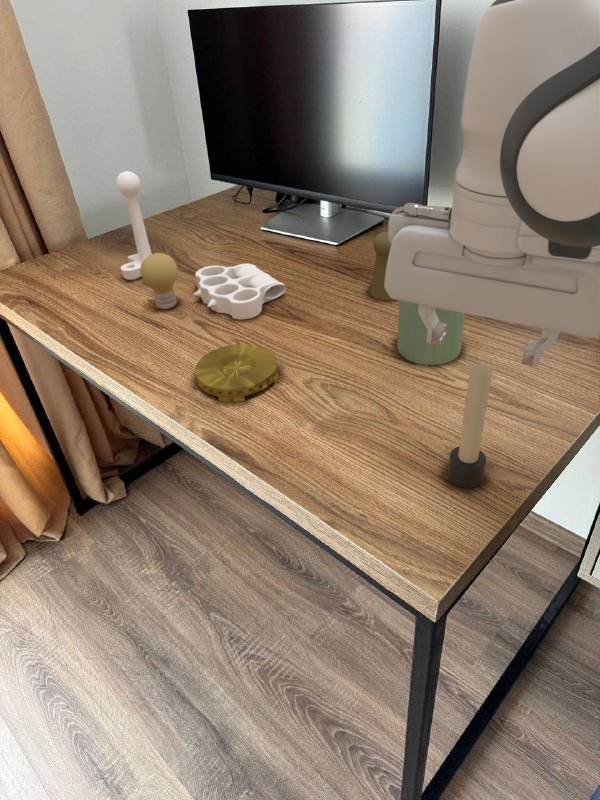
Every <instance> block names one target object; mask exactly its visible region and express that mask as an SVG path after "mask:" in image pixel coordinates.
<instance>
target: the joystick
mask: <svg viewBox="0 0 600 800" xmlns="http://www.w3.org/2000/svg"><path fill="white" fill-rule="evenodd" d="M115 181H116V182H115V185H116V188H117V190H118V192H119V193H120V194H121V195H123V196H124V197H125V200H126V203H127V208H128V212H129V217H130V222H131V227H132V232H133V237H134V241H135V248H136V252H137V253H135V254H130V255H127V261H128V262H127V263H123V264H122V265H121V266H120V271H121V275H122V278H124V279H125V280H127V281H135V280H138V279H140V278H142V276H141V271H140V268H141V263H142V261H143V260H144V259H145V258H146V257H147V256H149V255H151V254H153V253H152V251H151V250H152V249H151V245H150V242H149V239H148V234H147V231H146V227H145V222H144V218H143V215H142V211H141V207H140V202H139V199H138V195H139V193H140V191H141V188H142V183H141V179H140V178H139V176H138V175H137V174H136V173H135V172H132V171H131V170H126V171H122V172H120V173H119V174H118V176H117V177H116V180H115Z"/></svg>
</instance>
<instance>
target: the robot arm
mask: <svg viewBox="0 0 600 800" xmlns="http://www.w3.org/2000/svg"><path fill="white" fill-rule="evenodd" d="M463 93H464V94H463V99H462V109H461V118H460V127H461V133H462V141H463V143H462V144H463V146H462V153H461V157H460V160H459V163H458V165H457V168H456V170H455V174H454V182H453V184H454V185H453V193H452V201H451V206H450V207H449V206H441V205H423V204H419V203H416V202H407V203H405V204H404V205H403V206H399V207H397V208H395V209H394V210H393V211H392V212H391V214H390V215H389V219H388V223H387V226H388V227H387V232H388V238H389V241H390V243H391V248H390V252H389V256H388V261H387V267H386V273H385V283H384V288H385V290H386V291H387V293H388V295H389V296H390V297H391V298H392V299H394V300H397V301H399V300H401V301H406V302H411V303H416V304H419V305H418V314H419V315H420V317H421V319H422V321H423V323H424V325H425V327H426V328H427V329H428V330H427V342H428V343H432V344H437V345H441V344H442V342H443V341H444V340H445V336H446V332H445V331H446V328H447V324H446V323H441V322H439V319H438V317H437V315H436V312H435V308H441V309H446V310H451V311H456V312H461V313H465V315H466V314H467V315H471V316H476V317H482V318H487V319H492V320H496V321H501V322H507V323H512V324H517V325H522V326H527V327H532V328H537V329H542V330H541V334H540V337H541V338H539V340H538V341H531V340H528V341H527V343H526V345H525V347H524V352H523V356H522V360H521V364H522V365H526V366H530V367H535V368H538V367H539V365H540V362H541V359H542V355H543V354H544V353H545V351H547V350H548V349H550V347H551V346H553V345H554V344H555V343H556V342H557V341H558V339H559V335H560V334H561V333H563V334H567V335H572V336H578V337H582V338H586V339H592V338H593V339H594V338H595V337H597V336H598V335H600V0H495V1H493V2H492V4H490V6H488V7H487V9H486V10H485V12H484V13H483V15H482V16H481V19H480V21H479V23H478V26H477V29H476V32H475V36H474V40H473V43H472V47H471V53H470V57H469V62H468V66H467V74H466V80H465V86H464V91H463Z"/></svg>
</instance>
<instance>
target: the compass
mask: <svg viewBox="0 0 600 800" xmlns="http://www.w3.org/2000/svg"><path fill="white" fill-rule="evenodd" d="M194 369H195V370H194V373H195V377H196V382H197V387H198V388H200V389H201V390H202V391H204V392H205V393H206V394H209V395H211V396H215V397H218V401H219V402H222V403H223V402H225V403H236V402H245V401H246V399H245V397H246V396H252V395H254V394H256V393H259V392H261V391H263V390H265V389H266V388H268V387H269V386H270V385H271V384H272V383H274V384H276V383H277V381H278V377H279V373H278V362H277V357H276V356H275V354H274V353H273V352H272V351H271V350H269V349H268V348H266V347H263V346H261V345H256V344H252V343H251V344H250V343H237V344H228V345H225V346H220V347H218V348H215V349H213V350H211V351H209V352H207V353H206V354H205V355H203V356H202V357H201V358H200V359H199V360H198V362H197V363H196V366H195V368H194Z"/></svg>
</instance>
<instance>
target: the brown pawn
mask: <svg viewBox="0 0 600 800" xmlns="http://www.w3.org/2000/svg"><path fill="white" fill-rule="evenodd" d="M372 245H373V250H374V252H375V260H374V266H373V273H372V279H371V285H370V291H369V292H370V295H371V297H372V298H374V299H377V300H380V301H394V300H395V299H392V298H391V297H390V296H389V295H388V293H387V291H386V290H385V288H384V283H385V273H386V267H387V261H388V256H389V252H390V248H391V243H390V241H389V238H388V231H382V232H379V233H378V234H376V235H375V237H374V239H373V244H372Z"/></svg>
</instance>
